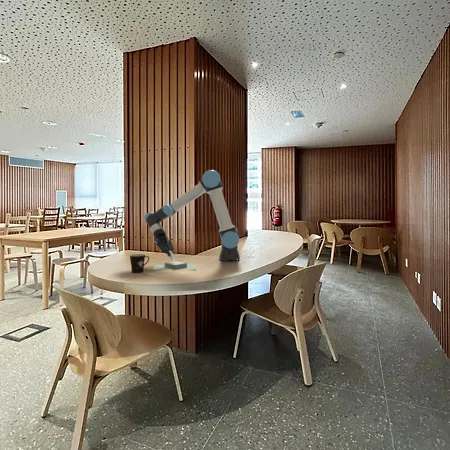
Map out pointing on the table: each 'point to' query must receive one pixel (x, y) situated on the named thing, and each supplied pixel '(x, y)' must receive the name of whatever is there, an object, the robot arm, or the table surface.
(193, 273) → the table surface
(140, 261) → the coffee mug
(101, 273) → the table surface
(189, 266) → the mat
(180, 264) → the slate picture frame
